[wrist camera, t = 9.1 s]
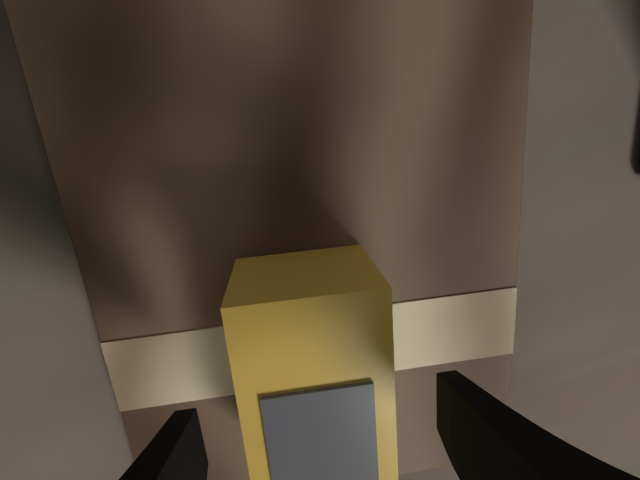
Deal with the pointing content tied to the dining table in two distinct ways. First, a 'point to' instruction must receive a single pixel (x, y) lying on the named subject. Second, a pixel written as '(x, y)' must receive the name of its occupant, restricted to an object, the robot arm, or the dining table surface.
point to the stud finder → (313, 365)
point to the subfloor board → (284, 181)
